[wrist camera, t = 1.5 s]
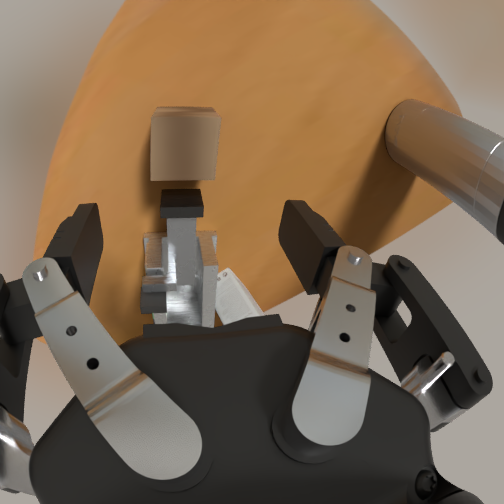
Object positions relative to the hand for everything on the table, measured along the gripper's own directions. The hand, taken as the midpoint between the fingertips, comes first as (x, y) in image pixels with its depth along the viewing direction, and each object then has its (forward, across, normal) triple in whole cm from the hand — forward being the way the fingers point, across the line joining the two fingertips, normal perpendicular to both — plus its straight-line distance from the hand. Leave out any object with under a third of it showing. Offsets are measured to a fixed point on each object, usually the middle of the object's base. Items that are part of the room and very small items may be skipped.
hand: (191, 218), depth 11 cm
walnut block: (+16, 0, 0) cm, 16 cm away
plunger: (+14, +1, +10) cm, 17 cm away
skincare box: (+16, -6, +20) cm, 27 cm away
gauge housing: (+16, 0, +16) cm, 22 cm away
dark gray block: (+9, +3, +13) cm, 16 cm away
